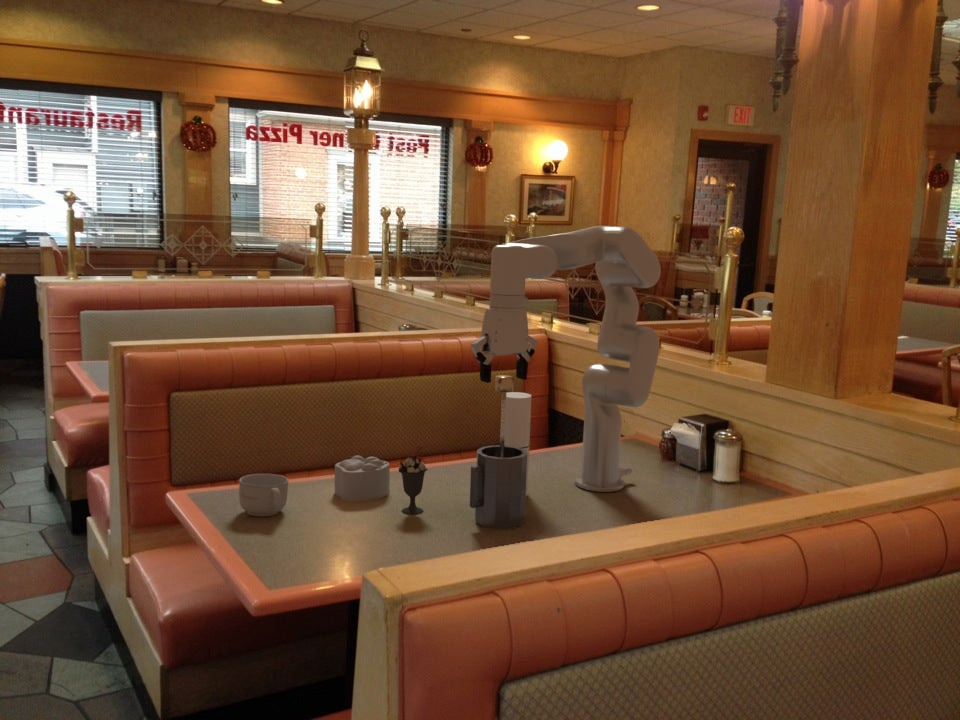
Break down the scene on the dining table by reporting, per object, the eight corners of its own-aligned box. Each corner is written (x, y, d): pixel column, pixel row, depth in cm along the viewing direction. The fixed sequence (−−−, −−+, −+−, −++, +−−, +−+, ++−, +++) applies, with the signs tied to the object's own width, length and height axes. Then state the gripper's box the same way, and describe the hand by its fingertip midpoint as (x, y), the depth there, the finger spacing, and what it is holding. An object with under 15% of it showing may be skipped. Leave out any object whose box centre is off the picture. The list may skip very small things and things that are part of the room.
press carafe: (505, 509, 204) (507, 443, 202) (533, 523, 195) (536, 454, 193) (457, 518, 197) (459, 450, 194) (484, 534, 188) (487, 462, 185)
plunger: (505, 464, 200) (508, 372, 197) (525, 472, 194) (528, 378, 190) (477, 468, 196) (480, 375, 192) (497, 477, 190) (500, 381, 186)
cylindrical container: (525, 499, 212) (529, 399, 208) (496, 496, 213) (499, 396, 209) (529, 490, 219) (533, 393, 215) (501, 488, 220) (504, 391, 216)
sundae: (431, 508, 203) (432, 446, 201) (420, 517, 197) (421, 453, 195) (405, 504, 205) (406, 443, 203) (393, 513, 199) (394, 450, 197)
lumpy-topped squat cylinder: (330, 491, 214) (330, 456, 213) (379, 484, 221) (379, 451, 219) (346, 503, 205) (347, 468, 204) (397, 496, 212) (397, 461, 210)
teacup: (236, 507, 200) (235, 473, 199) (283, 502, 204) (283, 469, 203) (245, 527, 188) (245, 492, 186) (295, 522, 192) (295, 487, 191)
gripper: (528, 300, 196) (524, 374, 199) (464, 301, 187) (461, 380, 190) (549, 303, 190) (545, 380, 193) (483, 305, 181) (480, 386, 183)
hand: (503, 380), depth 191 cm, fingers open, 9 cm apart
